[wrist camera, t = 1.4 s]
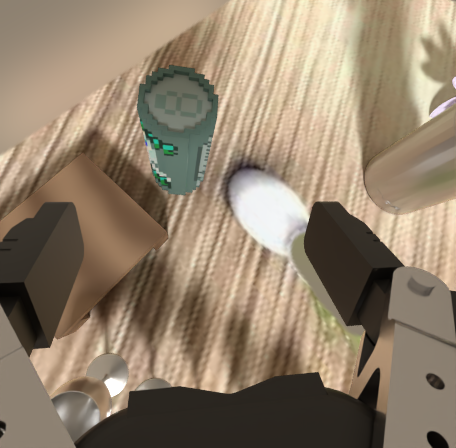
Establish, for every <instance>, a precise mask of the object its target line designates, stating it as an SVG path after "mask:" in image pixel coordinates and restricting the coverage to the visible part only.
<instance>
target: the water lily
mask: <svg viewBox="0 0 456 448" xmlns="http://www.w3.org/2000/svg"><path fill="white" fill-rule="evenodd" d="M452 82H453V86H454V88H455V89H456V77H454V78H453V80H452ZM455 103H456V96H455V97H453V98H451V99H449V100H447V101H446V102H444V103H443V104H441V105H440V106H438V107H437V108H436V109H435V110H434V111H433V112H432V113H431V114H430V116H429V117H432V118H434V117H435V116H437V115H438V114H440V113H441V112H443V111H444V110H446V109H447V108H449V107H450V106H452V105H454V104H455Z"/></svg>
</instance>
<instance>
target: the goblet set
mask: <svg viewBox="0 0 456 448" xmlns="http://www.w3.org/2000/svg"><path fill="white" fill-rule="evenodd" d="M128 377H129V369H128V365H127V363H126V361H125V360H124V359H123V358H122V357H120V356H119V355H117V354H112V353H107V354H103V355H100V356H98V357H97V358H96V359H94V360H93V361H92V362H91V364H90V365H89V367H88V369H87V372H86V376H85V377H79V378H75V379H73V380H70V381H68V382H66V383H65V384H63V385H62V386H60V387H59V388H58V389H57V390H56V391H55V392H54V393H53V394H52V395H51V396H50V399H51V401H52V403H53V405H54V407H55V408H56V410H57V412H58V414H59V416H60V418H61V420H62V422H63V424H64V426H65V428H66V430H67V432H68V433H69V435H70V437H71V439H72V441H73V443H74V442H75V441H76V440H78V439H79V438H80V437H81V436H82V435H83V434H84V433H85V432H87V431H88V430H89V429H90V428H92V427H93V426H94V425H96V424H97V423H99V422H100V421H102V420H103V419H105V418H107V417H108V416H110V413H111V408H112V399H111V397H112V396H114V395H116V394H118V393H119V392H120V391H121V390H122V389H123V388H124V387H125V385H126V383H127V381H128ZM168 387H172V386H171V385H170V384H169V383H168V382H167V381H165V380H163V379H159V378H152V379H148V380H146V381H144V382H142V383H141V384H140V385H139V386H138V387H137V388H136V390H135V391H139V390H149V389H158V388H168Z"/></svg>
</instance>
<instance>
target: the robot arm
mask: <svg viewBox="0 0 456 448" xmlns="http://www.w3.org/2000/svg"><path fill="white" fill-rule="evenodd" d="M365 185H366V189H367V192H368V194H369V196H370V197H371V199H372V200H373V201H374V203H375V204H376V205H377V206H379V207H380V208H381V209H383V210H384V211H386V212H389V213H392V214H398V215H403V214H408V213H411V212H414V211H417V210H420V209H424V208H427V207H430V206H434V205H437V204H440V203H443V202H446V201H449V200H453V199H456V103H455V104H454V105H452V106H450V107H449V108H447V109H446V110H444V111H443V112H441V113H440V114H438V115H437V116H435V117H434V118H432V119H431V120H429V121H428V122H426V123H425V124H423V125H422V126H420V127H419V128H417V129H416V130H414V131H413V132H411V133H410V134H408V135H406V136H405V137H403V138H402V139H400V140H399V141H397V142H396V143H394V144H393V145H391V146H390V147H388V148H387V149H385V150H384V151H382V152H381V153H379V154H378V155H376V156H375V157H373V158H372V159H371V161H370V162H369V163H368V165H367V167H366V171H365ZM2 240H3V241H2V242H0V448H456V291H450V290H449V288H448V287H447V286H446V284H445V283H444V282H443V281H441V280H440V279H439V278H437V277H436V276H434V275H433V274H431V273H429V272H427V271H424V270H422V269H419V268H415V267H405V266H404V265H403V264H402V263H401V262H400V261H399V260H398V258H397V257H396V256H395V255H394V254H393V253H392V252H391V251H390V250H389V249H388V248H387V247H386V246H385V245H384V243H383V242H380V239H379V238H378V237H377V236H376V235H375V234H373V232H372V231H371V230H370V228H369V227H368V226H367V225H366V224H365V223H364V222H362V221H360V220H359V219H357V218H356V217H354V216H352V215H350V214H349V213H348V212H347V211H346V210H345V208H344V207H343V206H342V205H341V204H340V203H339V202H315V203H314V205H313V207H312V211H311V214H310V218H309V222H308V226H307V229H306V233H305V237H304V249H305V253H306V255H307V256H308V258H309V260H310V262H311V264H312V265H313V267H314V269H315V271H316V273H317V274H318V276H319V278H320V280H321V281H322V283H323V285H324V287H325V288H326V290H327V292H328V294H329V296H330V297H331V299H332V301H333V303H334V305H335V306H336V308H337V310H338V312H339V314H340V315H341V317H342V319H343V321H344V322H345V324H346V326H354V325H362V326H363V327H364V329H365V330H364V332H363V334H362V336H361V340H360V345H359V350H358V355H357V360H356V365H355V369H354V374H353V379H352V384H351V388H350V391H349V394H345V393H343V392H340V391H337V390H334V389H330V388H326V387H324V385H323V382H322V380H321V378H320V375H319V373H318V372H315V373H305V374H295V375H285V376H276V377H273V378H271V379H268V380H266V381H263V382H261V383H258V384H256V385H253V386H251V387H248V388H246V389H243V390H241V391H238V392H236V393H232V394H225V393H219V392H212V391H206V390H200V389H193V388H187V387H181V386H178V387H168V388H158V389H149V390H139V391H130V392H129V401H128V408H126V409H123V410H121V411H118V412H116V413H114V414H112V415H110V416H108V417H107V418H105V419H103V420H102V421H100V422H99V423H97V424H96V425H94V426H93V427H92V428H90V429H89V430H88V431H87V432H85V433H84V434H83V435H82V436H81V437H80V438H79V439H78V440H76V441H75V442H74V443H73V441H72V439H71V437H70V435H69V433H68V432H67V430H66V428H65V426H64V424H63V422H62V420H61V418H60V416H59V414H58V412H57V410H56V408H55V407H54V405H53V403H52V401H51V399H50V397H49V395H48V393H47V391H46V389H45V387H44V385H43V384H42V382H41V380H40V378H39V376H38V374H37V372H36V370H35V368H34V366H33V364H32V362H31V361H30V359H29V357H30V355H31V352H32V350H33V349H39V348H50V346H51V344H52V341H53V338H54V336H55V333H56V330H57V328H58V325H59V322H60V320H61V317H62V314H63V312H64V309H65V306H66V304H67V301H68V298H69V296H70V293H71V290H72V288H73V285H74V283H75V280H76V277H77V275H78V272H79V269H80V267H81V264H82V261H83V257H84V242H83V238H82V233H81V229H80V224H79V220H78V215H77V211H76V207H75V205H74V203H73V202H45V203H44V204H43V205H42V206H41V208H40V209H39V211H38V212H37V213H36V215H35V216H34V218H26V219H24V220H23V221H21V222H20V223H18V224H17V225H15V226H13V227H12V228H11V229H10V230H9V232H8V233H7V234H6V235H5V237H4V238H3V239H2Z"/></svg>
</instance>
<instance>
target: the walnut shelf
mask: <svg viewBox="0 0 456 448" xmlns="http://www.w3.org/2000/svg"><path fill="white" fill-rule="evenodd" d="M45 202H73V203H74V205H75V207H76V211H77V215H78V220H79V224H80V229H81V233H82V238H83V242H84V257H83V261H82V264H81V267H80V269H79V272H78V275H77V277H76V280H75V283H74V285H73V288H72V290H71V293H70V296H69V298H68V301H67V304H66V306H65V309H64V312H63V314H62V317H61V320H60V322H59V325H58V328H57V330H56V333H55V337H56V338H57V339H60V338H62V337H64V336H67V335H69V334H71V333H73V332H76V331H77V330H78V329H79V328H80V327H81V326H82V325H83V324H84V323H85V322H86V321H87V320H88V319H89V318H90V316H89V315H88V314H87V313H88V312H89V311H90V310H91V309H92V308H93V307H94V306H95V305H96V304H97V303H98V302H99V301H100V300H101V299H102V298H103V297H104V296H105V295H106V294H107V293H108V292H109V291H110V290H111V289H112V288H113V287H114V286H115V285H116V284H117V283H118V282H119V281H120V280H121V279H122V278H123V277H124V276H125V275H126V274H127V273H128V272H129V271H130V270H131V269H132V268H133V267H134V266H135V265H136V264H137V263H138V262H139V261H140V260H141V259H142V258H143V257H144V256H145V255H146V254H147V253H148V252H149V251H150V250H151V249H152V248H154V249H155V250H157V249H158V248H159V247H160V246H161V245H162V244H163V243H164V242H165V241H166V240H167V239H168V235H167V231H166V230H165V229H164V228H163V227H162V226H160V225H159V224H158V223H157V222H156V221H155V220H154V219H153V218H152V217H151V216H150V215H149V214H148V213H147V212H146V211H145V210H143V209H142V208H141V207H140V206H139V205H138V204H137V203H136V202H135V201H134V200H133V199H132V198H131V197H130V196H129V195H127V194H126V193H125V192H124V191H123V190H122V189H121V188H120V187H119V186H118V185H117V184H116V183H115V182H114V181H113V180H111V179H110V178H109V177H108V176H107V175H106V174H105V173H104V172H103V171H102V170H101V169H100V168H99V167H98V166H97V165H95V164H94V163H93V162H92V161H91V160H90V159H89V158H88V157H87V156H86V155H85V154H84V153H82V154H80V155H79V156H78V157H77V158H76V159H74V160H73V161H72V162H71V163H69V164H68V165H67V166H66V167H65V168H63V169H62V170H61V171H60V172H59V173H57V174H56V175H55V176H54V177H53V178H51V179H50V180H49V181H48V182H47V183H45V184H44V185H43V186H42V187H40V188H39V189H38V190H37V191H36V192H34V193H33V194H32V195H31V196H30V197H28V198H27V199H26V200H25V201H24V202H22V203H21V204H20V205H19V206H17V207H16V208H15V209H14V210H13V211H11V212H10V213H9V214H8V215H7V216H5V217H4V218H3V219H2V220H1V221H0V242H2V241H3V240H2V239H3V238H4V237H5V235H6V234H7V233H8V232H9V230H10V229H11V228H12V227H13V226H15V225H17V224H18V223H20V222H21V221H23V220H24V219H26V218H34V216H35V215H36V213H37V212H38V211H39V209H40V208H41V206H42V205H43V204H44V203H45Z"/></svg>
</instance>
